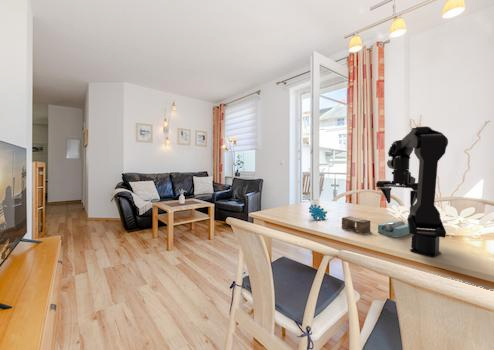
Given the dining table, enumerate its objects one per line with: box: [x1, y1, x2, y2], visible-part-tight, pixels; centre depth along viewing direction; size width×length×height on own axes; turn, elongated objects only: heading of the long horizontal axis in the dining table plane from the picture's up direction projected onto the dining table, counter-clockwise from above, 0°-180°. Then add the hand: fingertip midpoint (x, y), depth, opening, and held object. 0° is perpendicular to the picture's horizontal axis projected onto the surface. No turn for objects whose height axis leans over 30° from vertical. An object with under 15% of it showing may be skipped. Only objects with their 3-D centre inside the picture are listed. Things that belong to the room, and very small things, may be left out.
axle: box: [383, 220, 406, 232], centre depth 97 cm, size 12×3×3 cm, turn 120°
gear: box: [308, 204, 328, 221], centre depth 124 cm, size 11×6×10 cm
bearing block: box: [341, 215, 371, 234], centre depth 103 cm, size 10×6×5 cm, turn 30°
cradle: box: [377, 220, 410, 238], centre depth 98 cm, size 8×12×4 cm, turn 120°
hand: (400, 204), depth 99 cm, fingers open, 9 cm apart
